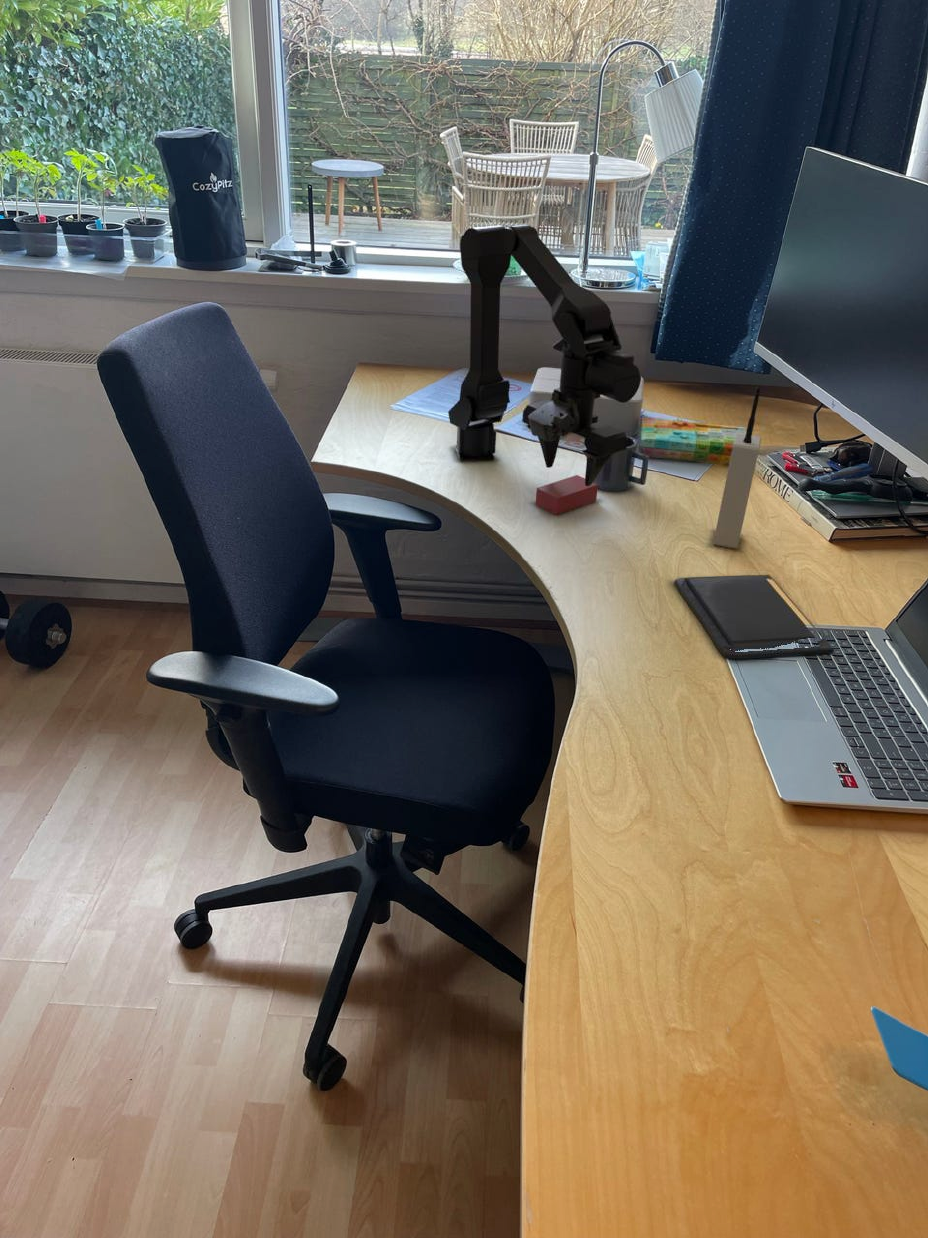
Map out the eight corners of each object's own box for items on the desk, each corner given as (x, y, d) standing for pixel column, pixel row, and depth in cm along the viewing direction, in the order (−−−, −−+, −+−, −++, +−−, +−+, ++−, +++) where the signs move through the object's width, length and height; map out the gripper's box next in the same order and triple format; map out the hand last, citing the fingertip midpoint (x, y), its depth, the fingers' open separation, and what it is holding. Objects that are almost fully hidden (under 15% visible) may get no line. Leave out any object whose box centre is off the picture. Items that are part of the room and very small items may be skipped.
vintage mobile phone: (739, 536, 147) (773, 382, 133) (737, 549, 143) (771, 392, 129) (716, 532, 148) (747, 378, 134) (712, 545, 144) (744, 389, 130)
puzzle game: (642, 413, 180) (747, 423, 178) (639, 436, 183) (742, 446, 180) (642, 434, 170) (752, 445, 168) (638, 458, 173) (747, 469, 170)
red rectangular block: (556, 514, 151) (557, 498, 149) (535, 504, 154) (536, 487, 153) (596, 500, 156) (598, 484, 155) (575, 490, 159) (577, 474, 158)
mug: (583, 484, 162) (588, 441, 158) (603, 472, 167) (608, 430, 162) (634, 500, 157) (640, 456, 153) (652, 486, 162) (659, 444, 158)
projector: (637, 438, 181) (643, 400, 177) (526, 428, 184) (529, 389, 180) (638, 410, 195) (644, 374, 191) (536, 401, 198) (538, 365, 194)
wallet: (674, 570, 133) (775, 567, 134) (672, 581, 134) (772, 578, 135) (723, 648, 116) (837, 643, 118) (720, 660, 117) (834, 656, 119)
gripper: (500, 376, 146) (495, 468, 154) (584, 410, 134) (573, 508, 142) (551, 365, 152) (543, 454, 160) (635, 397, 140) (622, 491, 148)
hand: (568, 476), depth 153 cm, fingers open, 9 cm apart
